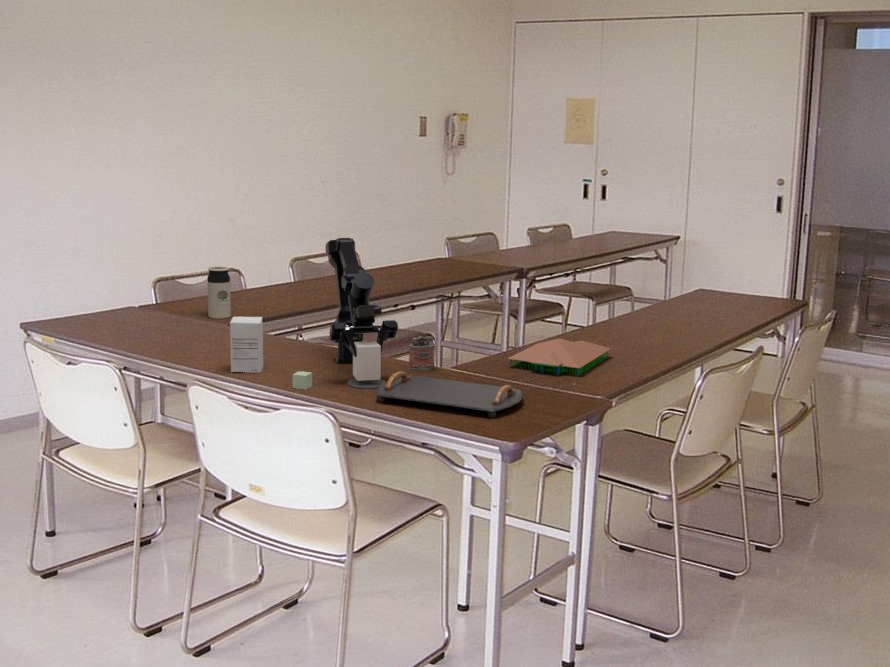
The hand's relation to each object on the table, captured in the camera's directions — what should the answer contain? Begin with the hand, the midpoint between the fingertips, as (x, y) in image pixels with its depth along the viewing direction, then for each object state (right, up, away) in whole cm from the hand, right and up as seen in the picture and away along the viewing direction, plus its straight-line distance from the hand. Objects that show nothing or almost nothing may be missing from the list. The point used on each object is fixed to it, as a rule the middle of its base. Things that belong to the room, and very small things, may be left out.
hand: (368, 355), depth 293 cm
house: (+56, -4, +33) cm, 65 cm away
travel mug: (-61, +12, +92) cm, 111 cm away
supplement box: (-37, -5, +17) cm, 41 cm away
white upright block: (-1, -6, +3) cm, 7 cm away
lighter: (+14, -5, +21) cm, 26 cm away
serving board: (+23, -12, -11) cm, 28 cm away
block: (-18, -9, -2) cm, 20 cm away
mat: (-1, -8, +3) cm, 9 cm away
